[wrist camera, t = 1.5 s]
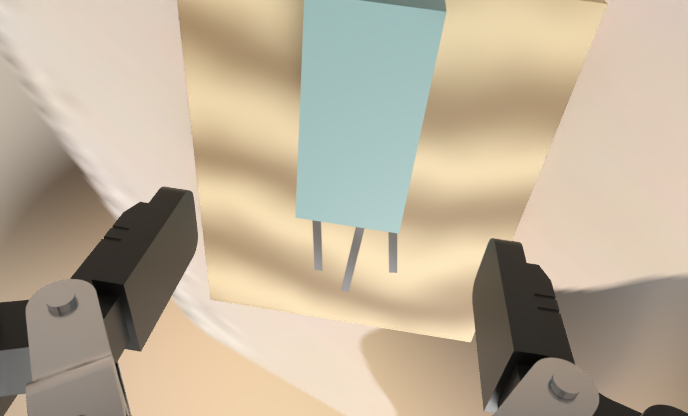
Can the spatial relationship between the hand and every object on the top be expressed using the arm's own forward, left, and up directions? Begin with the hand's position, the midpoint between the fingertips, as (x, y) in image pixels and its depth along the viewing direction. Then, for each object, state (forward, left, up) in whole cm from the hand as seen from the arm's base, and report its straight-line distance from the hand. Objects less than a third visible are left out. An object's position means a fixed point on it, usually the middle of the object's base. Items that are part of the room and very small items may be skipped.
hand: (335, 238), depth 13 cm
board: (+7, 0, -13) cm, 15 cm away
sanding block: (0, 0, -12) cm, 12 cm away
